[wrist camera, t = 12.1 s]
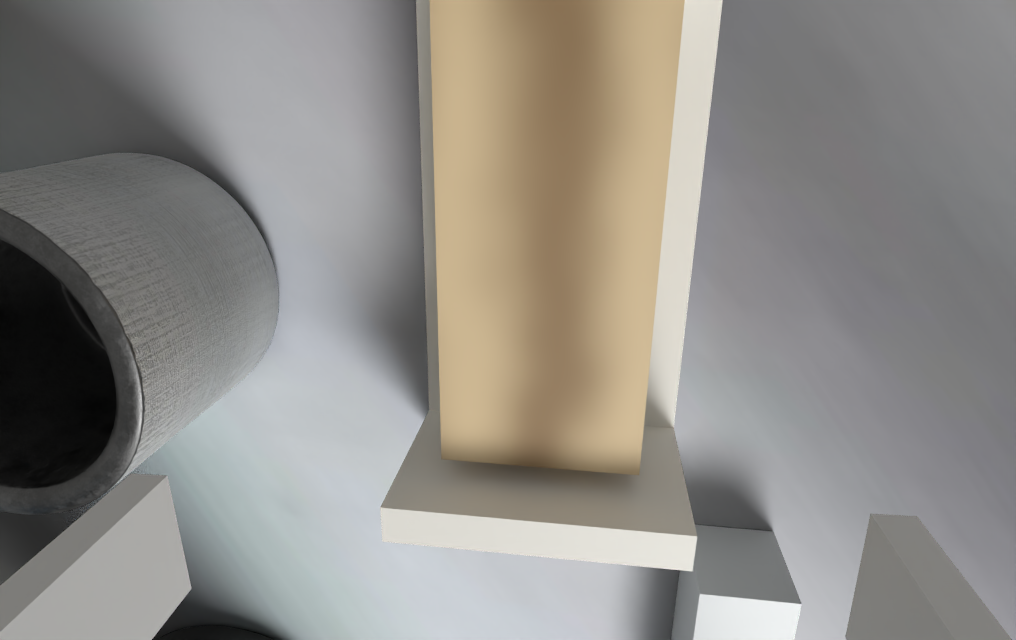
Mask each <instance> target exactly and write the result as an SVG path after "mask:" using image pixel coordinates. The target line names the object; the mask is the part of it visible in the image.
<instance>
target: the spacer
mask: <svg viewBox="0 0 1016 640" xmlns="http://www.w3.org/2000/svg"><path fill="white" fill-rule="evenodd" d="M695 528H696V533H697V542H696V550H695V557H694V564H693V571H683V570H680V573H679V581H678V588H677V596H676V604H675V612H674V619H673V627H672V635H671V640H794V638H795V633H796V628H797V623H798V619H799V614H800V609H801V605H802V604H801V601H800V599H799V596H798V594H797V591H796V588H795V586H794V583H793V581H792V578H791V576H790V573H789V570H788V568H787V565H786V563H785V560H784V557H783V555H782V552H781V550H780V547H779V545H778V542H777V539H776V537H775V534H774V532H772V531H761V530H750V529H738V528H727V527H716V526H705V525H695Z"/></svg>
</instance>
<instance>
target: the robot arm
mask: <svg viewBox="0 0 1016 640" xmlns="http://www.w3.org/2000/svg"><path fill="white" fill-rule="evenodd" d="M191 589H192V588H191V583H190V579H189V574H188V569H187V565H186V560H185V555H184V551H183V546H182V541H181V537H180V532H179V527H178V523H177V518H176V513H175V509H174V504H173V499H172V495H171V490H170V485H169V481H168V476H166V475H147V474H130V475H129V476H128V477H127V478H125V479H124V480H123V481H122V482H121V483H120V484H118V485H117V486H116V487H115V488H114V489H113V490H111V491H110V492H109V493H108V494H107V495H106V496H104V497H103V498H102V499H101V500H100V501H99V502H97V503H96V504H95V505H94V506H93V507H92V508H90V509H89V510H88V511H87V512H86V513H84V514H83V515H82V516H81V517H80V518H79V519H77V520H76V521H75V522H74V523H73V524H72V525H70V526H69V527H68V528H67V529H66V530H65V531H63V532H62V533H61V534H60V535H59V536H58V537H56V538H55V539H54V540H53V541H52V542H51V543H49V544H48V545H47V546H46V547H45V548H44V549H42V550H41V551H40V552H39V553H38V554H37V555H35V556H34V557H33V558H32V559H31V560H30V561H28V562H27V563H26V564H25V565H24V566H23V567H21V568H20V569H19V570H18V571H17V572H16V573H14V574H13V575H12V576H11V577H10V578H9V579H7V580H6V581H5V582H4V583H3V584H2V585H0V640H152V639H153V637H154V636H155V635H156V634H157V632H158V631H159V630H160V628H161V627H162V626H163V625H164V623H165V622H166V621H167V620H168V618H169V617H170V616H171V614H172V613H173V612H174V611H175V609H176V608H177V607H178V605H179V604H180V603H181V602H182V600H183V599H184V598H185V596H186V595H187V594H188V593H189V591H190V590H191ZM846 639H847V640H1012V639H1011V638H1010V637H1009V635H1008V634H1007V633H1006V632H1005V630H1004V629H1003V628H1002V626H1001V625H1000V624H999V622H998V621H997V620H996V619H995V617H994V616H993V615H992V613H991V612H990V611H989V609H988V608H987V607H986V606H985V604H984V603H983V602H982V600H981V599H980V598H979V596H978V595H977V594H976V593H975V591H974V590H973V589H972V587H971V586H970V585H969V583H968V582H967V581H966V580H965V578H964V577H963V576H962V574H961V573H960V572H959V570H958V569H957V568H956V567H955V565H954V564H953V563H952V561H951V560H950V559H949V557H948V556H947V555H946V554H945V552H944V551H943V550H942V548H941V547H940V546H939V544H938V543H937V542H936V541H935V539H934V538H933V537H932V535H931V534H930V533H929V531H928V530H927V529H926V528H925V526H924V525H923V524H922V522H921V521H920V520H919V518H918V517H917V516H901V515H883V514H870V519H869V524H868V529H867V534H866V539H865V544H864V548H863V553H862V558H861V563H860V568H859V573H858V578H857V583H856V588H855V592H854V597H853V602H852V607H851V612H850V617H849V622H848V627H847V632H846ZM158 640H272V639H270V638H267V637H265V636H262V635H260V634H256V633H253V632H250V631H246V630H242V629H237V628H231V627H224V626H197V627H190V628H185V629H181V630H177V631H175V632H172V633H169V634H167V635H165V636H163V637H161V638H160V639H158Z"/></svg>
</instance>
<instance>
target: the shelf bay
mask: <svg viewBox="0 0 1016 640" xmlns="http://www.w3.org/2000/svg"><path fill="white" fill-rule="evenodd" d="M722 1H723V0H685V3H684V13H683V24H682V34H681V45H680V55H679V65H678V76H677V86H676V97H675V107H674V118H673V128H672V138H671V149H670V159H669V170H668V180H667V190H666V201H665V211H664V222H663V232H662V243H661V253H660V263H659V274H658V284H657V295H656V305H655V316H654V326H653V336H652V347H651V357H650V368H649V378H648V389H647V399H646V409H645V420H644V430H643V441H642V451H641V461H640V472H639V475H629V474H617V473H605V472H592V471H580V470H568V469H555V468H543V467H531V466H518V465H506V464H493V463H481V462H469V461H456V460H444V459H441V424H440V385H439V347H438V308H437V269H436V231H435V192H434V153H433V115H432V76H431V37H430V0H416V16H417V47H418V79H419V110H420V141H421V172H422V204H423V235H424V266H425V297H426V329H427V360H428V391H429V412H428V414H427V416H426V418H425V420H424V422H423V424H422V426H421V428H420V430H419V432H418V434H417V436H416V438H415V440H414V442H413V444H412V446H411V448H410V450H409V452H408V454H407V456H406V457H405V459H404V461H403V463H402V465H401V467H400V469H399V471H398V473H397V475H396V477H395V479H394V481H393V483H392V485H391V487H390V489H389V491H388V493H387V495H386V497H385V499H384V501H383V503H382V505H381V507H380V510H381V526H382V541H383V542H393V543H403V544H413V545H424V546H434V547H444V548H455V549H465V550H475V551H486V552H496V553H507V554H517V555H527V556H538V557H548V558H558V559H569V560H579V561H589V562H600V563H610V564H620V565H631V566H641V567H652V568H662V569H672V570H683V571H693V564H694V557H695V550H696V542H697V533H696V528H695V524H694V519H693V514H692V510H691V505H690V501H689V496H688V492H687V487H686V482H685V478H684V473H683V469H682V464H681V460H680V455H679V450H678V446H677V441H676V437H675V432H674V421H675V412H676V403H677V394H678V386H679V377H680V368H681V359H682V351H683V342H684V333H685V324H686V316H687V307H688V298H689V289H690V281H691V272H692V263H693V254H694V246H695V237H696V228H697V219H698V211H699V202H700V193H701V184H702V176H703V167H704V158H705V149H706V141H707V132H708V123H709V114H710V106H711V97H712V88H713V80H714V71H715V62H716V53H717V45H718V36H719V27H720V18H721V10H722Z"/></svg>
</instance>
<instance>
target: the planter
mask: <svg viewBox="0 0 1016 640" xmlns="http://www.w3.org/2000/svg"><path fill="white" fill-rule="evenodd" d="M278 313H279V290H278V282H277V276H276V272H275V268H274V264H273V261H272V259H271V256H270V253H269V251H268V248H267V246H266V244H265V242H264V240H263V238H262V236H261V234H260V232H259V231H258V229H257V227H256V226H255V224H254V223H253V221H252V220H251V219H250V217H249V216H248V214H247V213H246V212H245V211H244V209H243V208H242V207H241V206H240V205H239V204H238V203H237V201H236V200H235V199H234V198H233V197H232V196H231V195H229V194H228V193H227V192H226V191H225V190H224V189H223V188H221V187H220V186H219V185H218V184H216V183H215V182H214V181H212V180H211V179H210V178H208V177H207V176H205V175H203V174H202V173H200V172H199V171H197V170H195V169H193V168H191V167H189V166H187V165H184V164H182V163H180V162H177V161H174V160H171V159H168V158H165V157H161V156H156V155H151V154H141V153H110V154H104V155H98V156H92V157H86V158H80V159H75V160H69V161H64V162H58V163H53V164H48V165H43V166H37V167H32V168H27V169H21V170H16V171H10V172H5V173H0V511H3V512H9V513H15V514H26V515H42V514H53V513H60V512H65V511H69V510H72V509H75V508H79V507H81V506H83V505H86V504H88V503H90V502H92V501H94V500H95V499H97V498H99V497H100V496H102V495H103V494H105V493H106V492H107V491H109V490H110V489H111V488H112V487H114V486H115V485H116V484H117V483H119V482H120V481H121V480H122V479H123V478H124V477H126V476H127V475H128V474H129V473H130V472H132V471H133V470H134V469H135V468H136V467H137V466H139V465H140V464H141V463H142V462H143V461H145V460H146V459H147V458H148V457H149V456H151V455H152V454H153V453H154V452H155V451H157V450H158V449H159V448H160V447H161V446H163V445H164V444H165V443H166V442H168V441H169V440H170V439H171V438H172V437H174V436H175V435H176V434H177V433H179V432H180V431H181V430H182V429H183V428H185V427H186V426H187V425H188V424H190V423H191V422H192V421H193V420H195V419H196V418H197V417H198V416H200V415H201V414H202V413H203V412H204V411H206V410H207V409H208V408H209V407H211V406H212V405H213V404H214V403H216V402H217V401H218V400H219V399H220V398H222V397H223V396H224V395H225V394H227V393H228V392H229V391H230V390H231V389H233V388H234V387H235V386H236V385H237V384H239V383H240V382H241V381H242V380H243V379H245V378H246V377H247V376H248V375H249V374H250V373H251V372H252V371H253V369H254V368H255V367H256V365H257V364H258V363H259V361H260V360H261V359H262V357H263V356H264V354H265V353H266V351H267V349H268V347H269V345H270V343H271V341H272V338H273V336H274V332H275V329H276V325H277V320H278Z"/></svg>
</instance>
